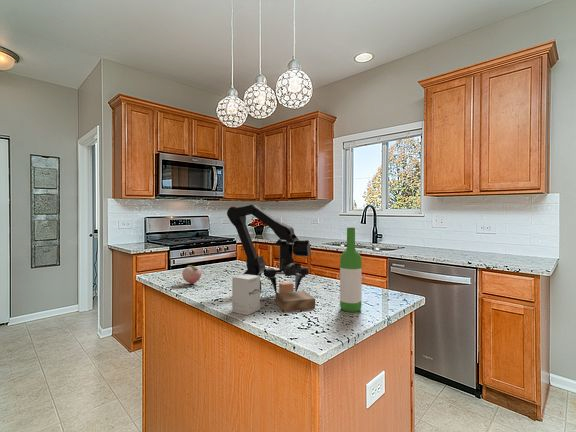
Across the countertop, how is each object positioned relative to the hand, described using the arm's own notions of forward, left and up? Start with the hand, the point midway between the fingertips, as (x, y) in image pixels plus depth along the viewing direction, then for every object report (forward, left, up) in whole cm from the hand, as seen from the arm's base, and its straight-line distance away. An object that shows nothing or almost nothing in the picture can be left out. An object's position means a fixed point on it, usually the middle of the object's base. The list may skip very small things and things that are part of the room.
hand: (286, 291), depth 137 cm
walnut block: (-1, -15, -2) cm, 15 cm away
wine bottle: (+17, -26, -2) cm, 31 cm away
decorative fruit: (-39, +31, -2) cm, 50 cm away
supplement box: (-20, -17, -2) cm, 26 cm away
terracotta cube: (0, 0, -1) cm, 1 cm away
